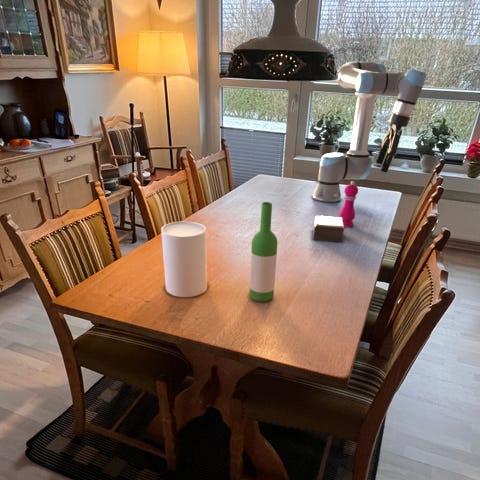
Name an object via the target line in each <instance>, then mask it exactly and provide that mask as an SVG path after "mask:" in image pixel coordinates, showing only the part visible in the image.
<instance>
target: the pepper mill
mask: <svg viewBox="0 0 480 480" xmlns="http://www.w3.org/2000/svg"><path fill="white" fill-rule="evenodd" d="M343 191H344V203H343V206H342V208H341V209H340V211H339V214H338V217H340V218H342V219H343V224H344V228H351V227H353V224H354V222H353V221H354V220H355V219H356V211H355V206H354V205H355V200H356V199H357V195H358V194H359V187H358V186H357V185H356V184H355V181H354V180H351V181H350V184H347V185H346V186H345V187H344V189H343Z"/></svg>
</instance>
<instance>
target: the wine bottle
mask: <svg viewBox="0 0 480 480" xmlns="http://www.w3.org/2000/svg"><path fill="white" fill-rule="evenodd" d="M272 213H273V203H272V202H269V201H263V202H262V203H261V211H260V225H259V226H260V228H259V230H258V231H257V232H256V233H254V235H253V236H252V239H251V250H250V266H249V267H250V268H249V269H250V271H249V297H250V298H251V299H252V300H253V301H256V302H261V303H263V302H268V301H270V300H272V299H273V297H274V294H275V281H276V271H277V270H276V269H277V258H278V257H277V256H278V243H279V242H278V238H277V236H276V234H275V233H274V231H272V228H271V227H272Z"/></svg>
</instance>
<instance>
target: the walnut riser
mask: <svg viewBox="0 0 480 480" xmlns="http://www.w3.org/2000/svg"><path fill="white" fill-rule="evenodd" d="M312 232H313V234H312V235H313V236H312V240H313V241H320V242H321V241H322V242H331V243H343V238H344V233H345V227H344V224H343V219H342V218H340V217H339V216H325V215H316V216H315V217H314V223H313V231H312Z"/></svg>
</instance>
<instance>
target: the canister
mask: <svg viewBox="0 0 480 480" xmlns="http://www.w3.org/2000/svg"><path fill="white" fill-rule="evenodd" d="M160 232H161V244H162V256H163V269H164V281H165V290H166V292H167V293H168V294H170V295H172V296H175V297H179V298H192V297H196V296H200V295H202V294H203V293H205V292H206V291H207V290H208V261H207V260H208V255H207V253H208V251H207V227H206V226H205V225H204V224H202V223H200V222H195V221H188V220H184V221H181V220H180V221H173V222H169V223H166V224H164V225H163V226H162V227H161V231H160Z"/></svg>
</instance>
